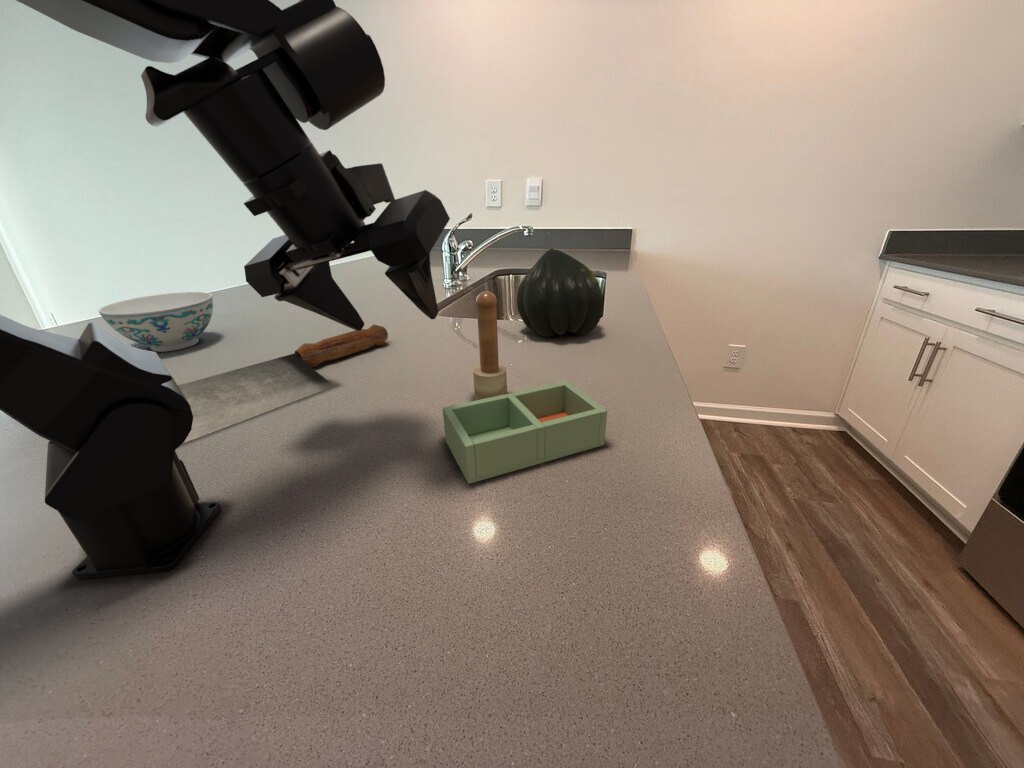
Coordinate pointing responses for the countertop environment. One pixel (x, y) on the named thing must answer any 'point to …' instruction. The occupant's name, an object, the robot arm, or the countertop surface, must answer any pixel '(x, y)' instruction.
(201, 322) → the chinaware
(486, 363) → the dish brush
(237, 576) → the countertop surface
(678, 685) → the countertop surface
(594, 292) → the squash
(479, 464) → the green divided tray
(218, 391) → the meat cleaver
